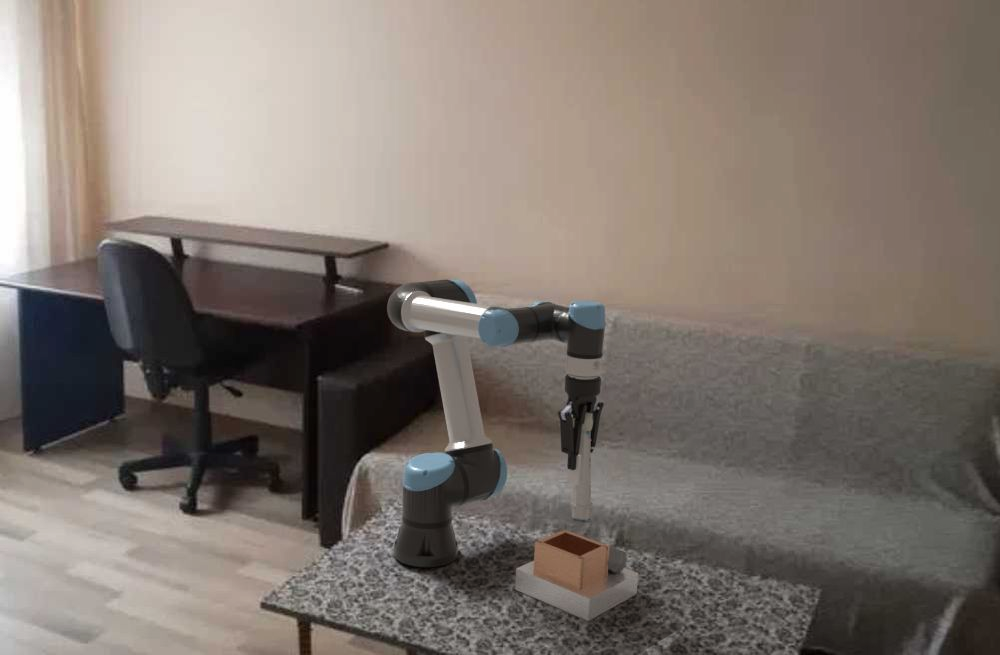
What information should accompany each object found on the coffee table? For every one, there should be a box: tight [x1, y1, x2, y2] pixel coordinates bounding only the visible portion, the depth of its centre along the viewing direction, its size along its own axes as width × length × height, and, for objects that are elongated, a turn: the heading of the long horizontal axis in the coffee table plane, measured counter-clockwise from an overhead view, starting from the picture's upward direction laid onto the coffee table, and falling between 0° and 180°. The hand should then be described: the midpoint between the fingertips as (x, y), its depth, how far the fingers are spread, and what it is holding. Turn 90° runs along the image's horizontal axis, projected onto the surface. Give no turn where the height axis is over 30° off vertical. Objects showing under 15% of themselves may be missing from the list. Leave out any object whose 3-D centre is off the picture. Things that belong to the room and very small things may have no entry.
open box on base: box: [514, 529, 639, 622], centre depth 225 cm, size 20×18×12 cm
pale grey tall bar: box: [564, 406, 593, 524], centre depth 219 cm, size 5×7×25 cm
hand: (576, 481), depth 219 cm, fingers closed on pale grey tall bar, 2 cm apart
